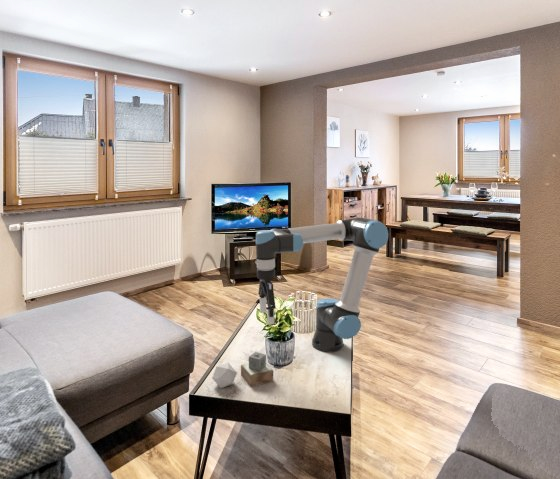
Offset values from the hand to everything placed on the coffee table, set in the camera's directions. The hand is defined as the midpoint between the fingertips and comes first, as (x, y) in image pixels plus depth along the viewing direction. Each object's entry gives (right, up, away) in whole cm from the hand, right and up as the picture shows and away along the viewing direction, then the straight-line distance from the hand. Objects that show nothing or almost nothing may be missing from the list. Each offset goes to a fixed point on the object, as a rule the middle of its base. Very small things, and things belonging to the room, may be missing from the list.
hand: (267, 317), depth 166 cm
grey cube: (-4, -19, -4) cm, 20 cm away
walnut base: (-4, -24, -3) cm, 25 cm away
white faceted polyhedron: (-17, -25, -8) cm, 31 cm away
